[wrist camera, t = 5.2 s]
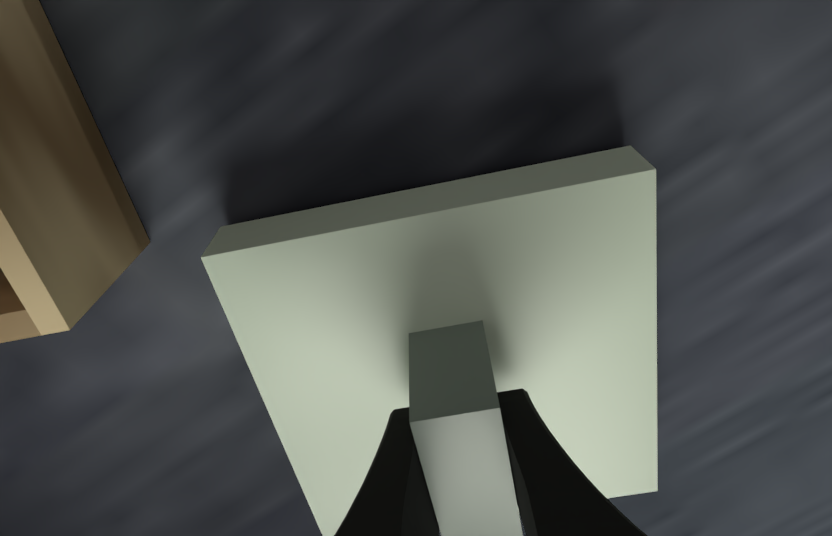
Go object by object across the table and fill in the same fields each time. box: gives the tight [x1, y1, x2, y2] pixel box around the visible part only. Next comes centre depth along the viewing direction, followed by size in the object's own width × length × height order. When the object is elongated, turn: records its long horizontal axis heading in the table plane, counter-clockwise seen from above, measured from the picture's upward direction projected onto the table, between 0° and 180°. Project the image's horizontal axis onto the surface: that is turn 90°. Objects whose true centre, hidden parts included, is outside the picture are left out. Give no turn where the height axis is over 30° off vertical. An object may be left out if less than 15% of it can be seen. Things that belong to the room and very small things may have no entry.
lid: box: [201, 145, 658, 536], centre depth 14 cm, size 10×10×5 cm
